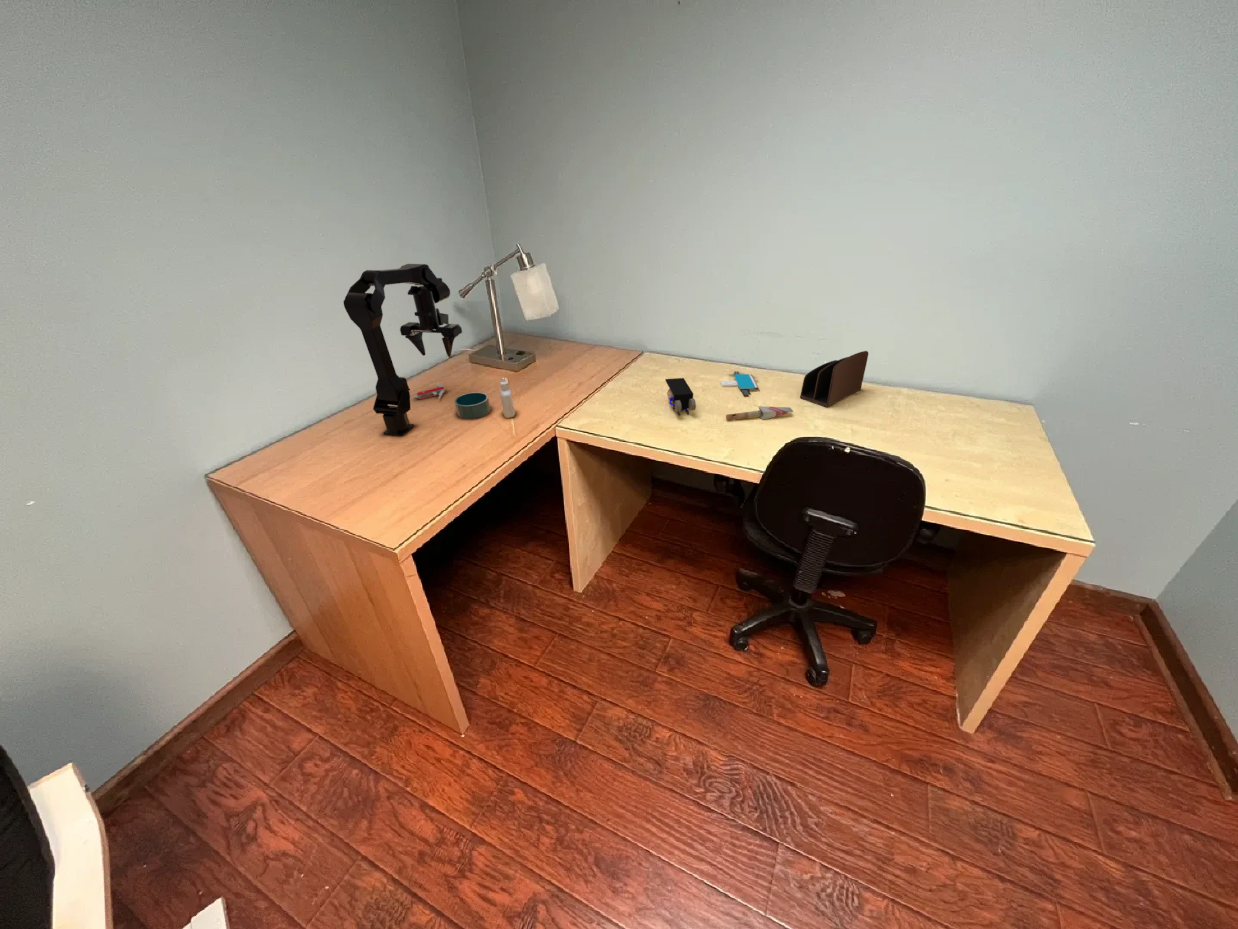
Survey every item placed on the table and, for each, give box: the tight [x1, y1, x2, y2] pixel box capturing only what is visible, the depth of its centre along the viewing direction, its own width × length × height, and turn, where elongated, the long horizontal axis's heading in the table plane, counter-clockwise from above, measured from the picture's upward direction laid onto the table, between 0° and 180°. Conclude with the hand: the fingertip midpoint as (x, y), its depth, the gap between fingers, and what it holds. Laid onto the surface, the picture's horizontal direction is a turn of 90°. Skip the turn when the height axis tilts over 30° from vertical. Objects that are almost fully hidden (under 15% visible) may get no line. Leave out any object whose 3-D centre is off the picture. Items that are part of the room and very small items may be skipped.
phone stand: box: [719, 370, 761, 398], centre depth 167 cm, size 20×12×2 cm, turn 178°
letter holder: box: [799, 350, 869, 408], centre depth 155 cm, size 10×20×14 cm, turn 129°
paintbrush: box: [725, 405, 794, 422], centre depth 146 cm, size 4×3×20 cm
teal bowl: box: [454, 391, 491, 420], centre depth 155 cm, size 10×10×4 cm
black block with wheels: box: [665, 377, 697, 417], centre depth 152 cm, size 7×8×15 cm
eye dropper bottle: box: [499, 377, 516, 419], centre depth 151 cm, size 4×6×12 cm
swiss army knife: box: [410, 383, 446, 400], centre depth 167 cm, size 12×14×2 cm
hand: (436, 355), depth 160 cm, fingers open, 9 cm apart
